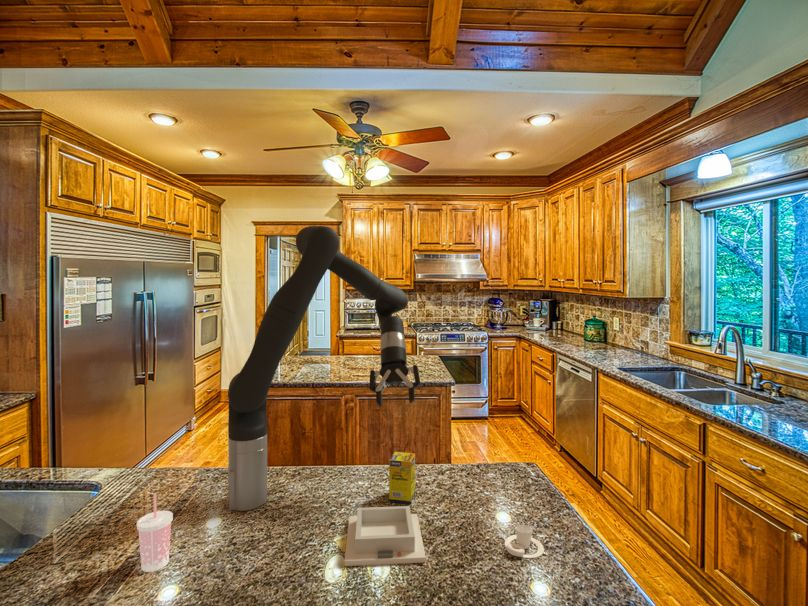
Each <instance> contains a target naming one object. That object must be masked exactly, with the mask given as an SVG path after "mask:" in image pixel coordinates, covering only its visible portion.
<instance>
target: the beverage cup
mask: <svg viewBox="0 0 808 606" xmlns="http://www.w3.org/2000/svg"><path fill="white" fill-rule="evenodd" d="M173 519H174V513H173V512H172V511H170V510H157V492H154V493H153V511H152V512H150V513H148V514H147V513H146V514H145V515H143V516H141V517H140V518H139V519H138V520H137V521H136V529H137V531H138V541H139V554H140V564H141V570H142V571H143V572H146V573H152V572H156V571H159V570H162V568H164V567H165V566H167V565H168V563H169V561H170V548H171V547H170V546H171V531H172V529H171V528H172V522H173Z"/></svg>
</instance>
